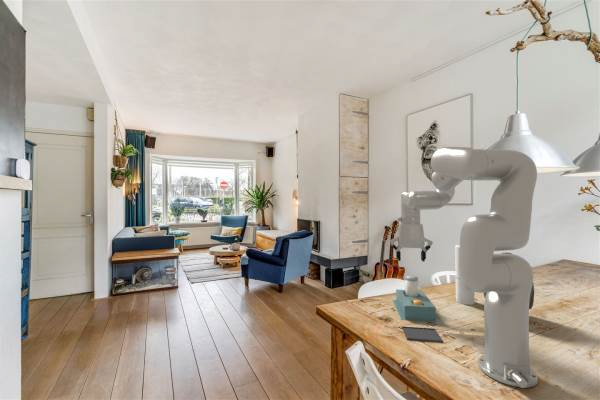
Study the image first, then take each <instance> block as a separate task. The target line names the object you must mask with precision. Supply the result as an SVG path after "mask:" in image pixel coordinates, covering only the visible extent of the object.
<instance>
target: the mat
mask: <svg viewBox="0 0 600 400" xmlns="http://www.w3.org/2000/svg"><path fill="white" fill-rule="evenodd" d="M401 329H402V331H403V333H404V335H405V338H406V341H417V342H419V341H420V342H434V343H443V342H444V340H443V339H442V337H441V336H440V334H439V332H438V331H437V329H436V328H430V327H417V326H416V327H414V326H401Z"/></svg>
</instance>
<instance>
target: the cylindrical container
mask: <svg viewBox="0 0 600 400" xmlns="http://www.w3.org/2000/svg"><path fill="white" fill-rule="evenodd" d="M459 248H460V244H456V245H455V246H454V253H455V254H454V255H455V256H454V258H455V269H454V270H455V302H456V303H458V304H461V305H465V306H473V305H475V292H473V291H470V290H468V289H467V288H466V287H465V286H464V285H463V284H462V282H461V280H460V277H459V270H458V264H459Z"/></svg>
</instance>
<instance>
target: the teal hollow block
mask: <svg viewBox="0 0 600 400" xmlns="http://www.w3.org/2000/svg"><path fill="white" fill-rule="evenodd" d="M395 298H396V299H392V302H393V305H394V306H395V309H396V311H397V313H398V315H399V318H400V320H401V321H415V322H427V323H429V322H432V323H441V320H440V319H439V317H438V316H437V313H436V311H437V310H436V309H437V308H436V306H435V305H434V303H433V302H432V301H431V300H430V298H429V297H428V296H427V295H426V294H425V292H424V291H423V290H420V289H418V297H406V290H405V289H397V288H396V289H395ZM413 300H421V301H422V305H413Z"/></svg>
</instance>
